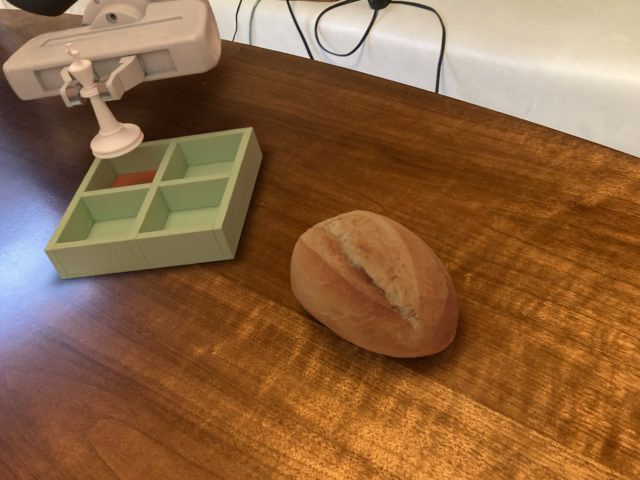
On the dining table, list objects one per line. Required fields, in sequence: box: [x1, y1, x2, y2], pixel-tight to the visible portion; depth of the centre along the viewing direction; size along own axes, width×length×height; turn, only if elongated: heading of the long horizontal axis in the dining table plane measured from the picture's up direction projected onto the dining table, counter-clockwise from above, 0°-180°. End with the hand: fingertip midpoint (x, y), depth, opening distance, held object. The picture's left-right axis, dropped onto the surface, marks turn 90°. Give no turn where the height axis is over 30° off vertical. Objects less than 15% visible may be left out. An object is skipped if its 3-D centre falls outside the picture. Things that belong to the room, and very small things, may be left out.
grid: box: [43, 126, 264, 280], centre depth 72 cm, size 16×16×3 cm
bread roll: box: [289, 209, 460, 359], centre depth 55 cm, size 10×15×8 cm, turn 43°
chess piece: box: [66, 43, 145, 159], centre depth 69 cm, size 5×5×10 cm
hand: (89, 96), depth 68 cm, fingers closed on chess piece
